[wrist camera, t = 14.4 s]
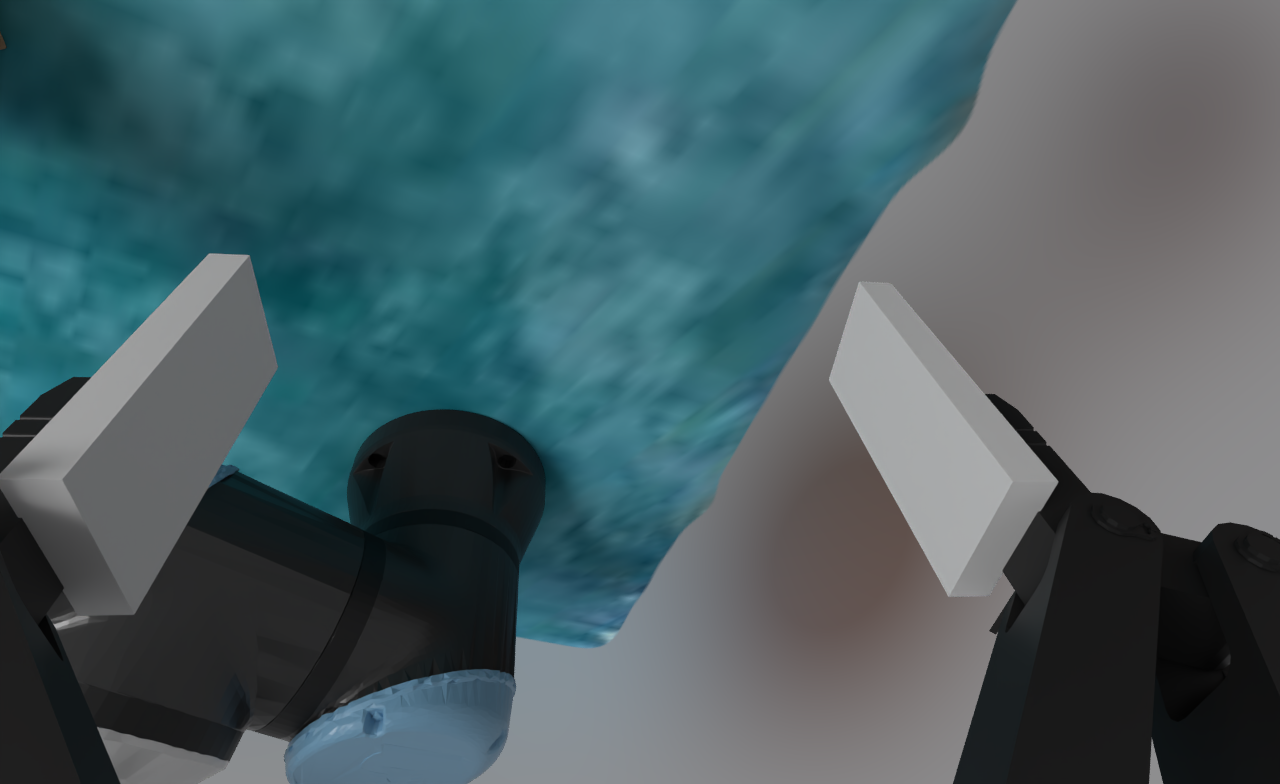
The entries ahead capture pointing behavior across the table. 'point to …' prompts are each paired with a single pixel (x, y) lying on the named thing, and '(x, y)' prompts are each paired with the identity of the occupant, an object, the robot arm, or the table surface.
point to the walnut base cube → (2, 43)
